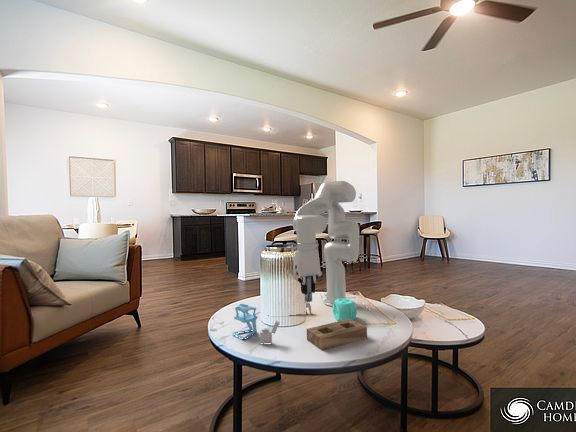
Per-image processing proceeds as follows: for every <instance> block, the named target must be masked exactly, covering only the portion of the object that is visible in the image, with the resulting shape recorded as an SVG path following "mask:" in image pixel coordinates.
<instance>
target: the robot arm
mask: <svg viewBox="0 0 576 432" xmlns="http://www.w3.org/2000/svg"><path fill="white" fill-rule="evenodd" d="M356 196H357V192H356V189H355V187H354V186H353V185H352V184H351V183H349V182H348V181H347V180H346V181H345V180H334V181H325V182H322V183H321V184H320V185H319V187H318V190H317V192H316V194H315V196H314V198H313V199H311V200H309V201H308V202H306V203H305V204H302V206H300V207H299V208H298V210H297V211H296V213H295V215H294V217H293V220H292V229H293V230H294V231H295V232H296V248H297V249H296V250H295V251H294V257H293V274H292V279H293V280H296V281H297V282H298V283H299V284H300V292H301V294H303V295H304V296H305V295H306V294H307V285H306V284H305V279H306V276H311V279H312V294H315V293H316V282H317V280H318V279H319V278H320V277H321V276H322V275H323V272H322V271H321V264H320V263H321V262H320V257H319V256H320V254H319V252H318V250H317V247H319V243H318V242H316V241H317V237H316V234H320V233H323V232H325V231H326V229H327V235H328V237H329V238H330V239H332V240H333V239H334V240H348V241H328V242H327V243H325V244H324V246H323V254H324V259H325V270H326V271H325V272H326V273H325V274H326V292H325V293H324V297H326V299H324V300H323V303H324V305H326V306H328V307H333V303H334V302H335V300H337V299H341V298H346V297H347V294H346V293H347V291H346V289H347V288H346V268H345V266H344V265H343V263H342V262H346V261H347V262H354V261H355V262H356V260H358V258H359V255H360V226H359V224H358V222H357V221H356V220H346V212H345V209H344V208H343V206H342V205H341V204H342V203H353V202H354V201H355V199H356ZM340 203H341V204H340ZM326 212H328V220H327V218H326V216H324V215H321V214H323V213H326Z"/></svg>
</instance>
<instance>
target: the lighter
mask: <svg viewBox="0 0 576 432" xmlns="http://www.w3.org/2000/svg"><path fill="white" fill-rule="evenodd" d="M279 325H280V321H278V320H275V323H274V325H273V327H272V329H271V330H270V329H269V328H268V327H267V328H266V327H265V328H262V330H260V332H259V342H260V343H272V344H273V335H274V334H276V331H277V329H278V328H279Z"/></svg>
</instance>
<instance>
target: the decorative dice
mask: <svg viewBox="0 0 576 432" xmlns="http://www.w3.org/2000/svg"><path fill="white" fill-rule="evenodd" d="M332 313H333V316H334V319H335V320H336V322H338V321H343V320H347V319H351V320H353V321H355V319H356V317H357V315H358V311H357V305H356V302H355V301H354V300H353V299H351V298H341V299H337V300H335V302H334V303H333V306H332Z"/></svg>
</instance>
